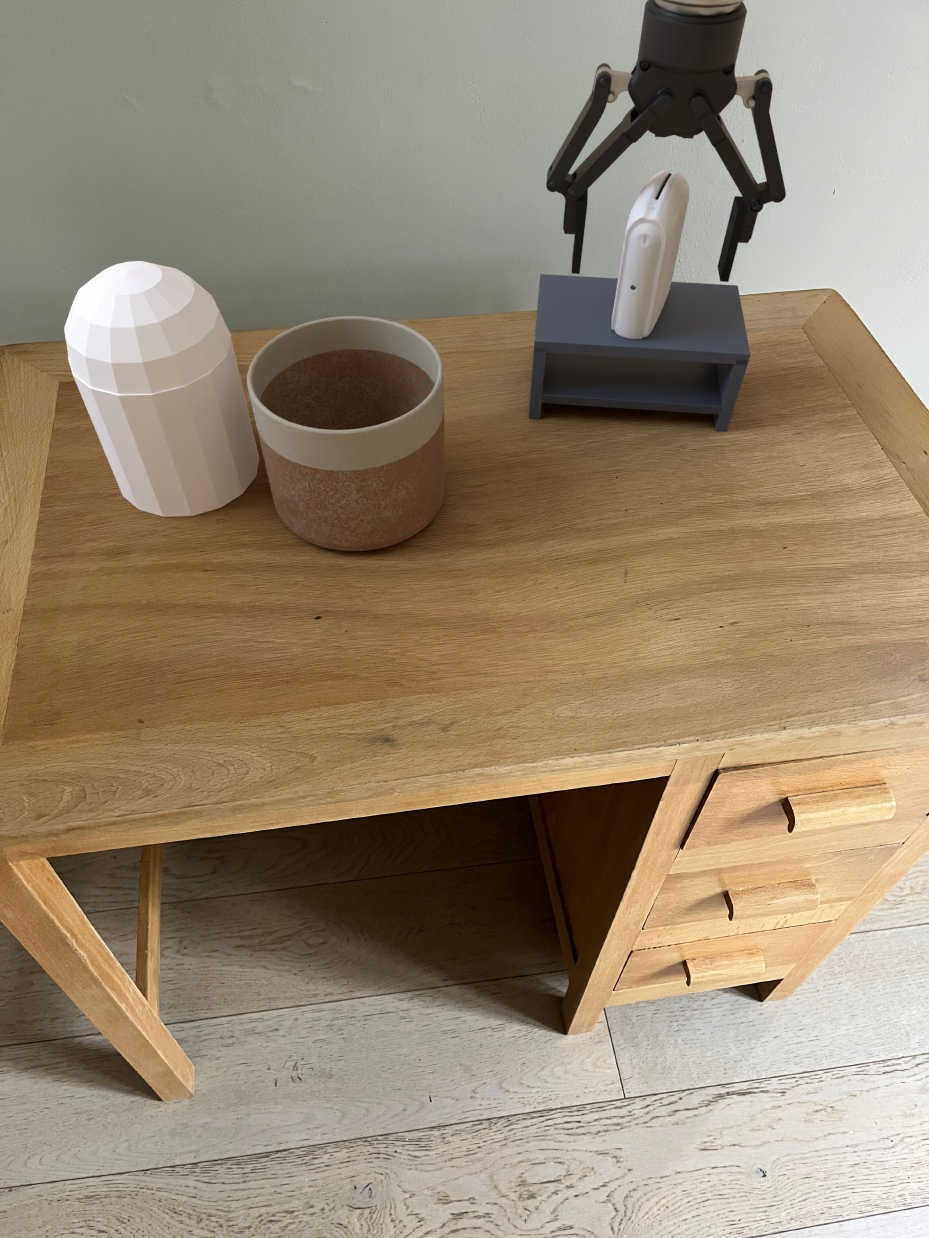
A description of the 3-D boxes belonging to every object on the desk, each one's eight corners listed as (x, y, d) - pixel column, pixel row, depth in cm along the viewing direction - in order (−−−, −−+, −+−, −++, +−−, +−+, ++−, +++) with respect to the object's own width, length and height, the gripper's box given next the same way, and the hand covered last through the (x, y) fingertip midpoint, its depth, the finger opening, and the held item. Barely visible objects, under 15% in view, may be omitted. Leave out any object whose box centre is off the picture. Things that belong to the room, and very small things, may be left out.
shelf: (717, 361, 94) (737, 285, 87) (726, 431, 86) (750, 354, 79) (534, 350, 95) (540, 273, 88) (528, 418, 87) (534, 340, 80)
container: (118, 434, 85) (43, 239, 70) (254, 415, 87) (210, 221, 72) (116, 527, 77) (30, 330, 62) (266, 504, 79) (219, 308, 64)
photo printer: (649, 345, 80) (675, 213, 70) (604, 335, 81) (624, 204, 71) (673, 290, 86) (700, 161, 76) (631, 281, 87) (653, 153, 77)
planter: (266, 454, 84) (237, 329, 73) (424, 429, 86) (419, 304, 75) (286, 571, 74) (257, 447, 63) (463, 539, 77) (464, 414, 66)
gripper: (860, -12, 65) (779, 257, 81) (531, -22, 67) (517, 243, 83) (880, 21, 60) (790, 299, 77) (526, 9, 62) (512, 284, 78)
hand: (648, 270), depth 80 cm, fingers open, 13 cm apart
